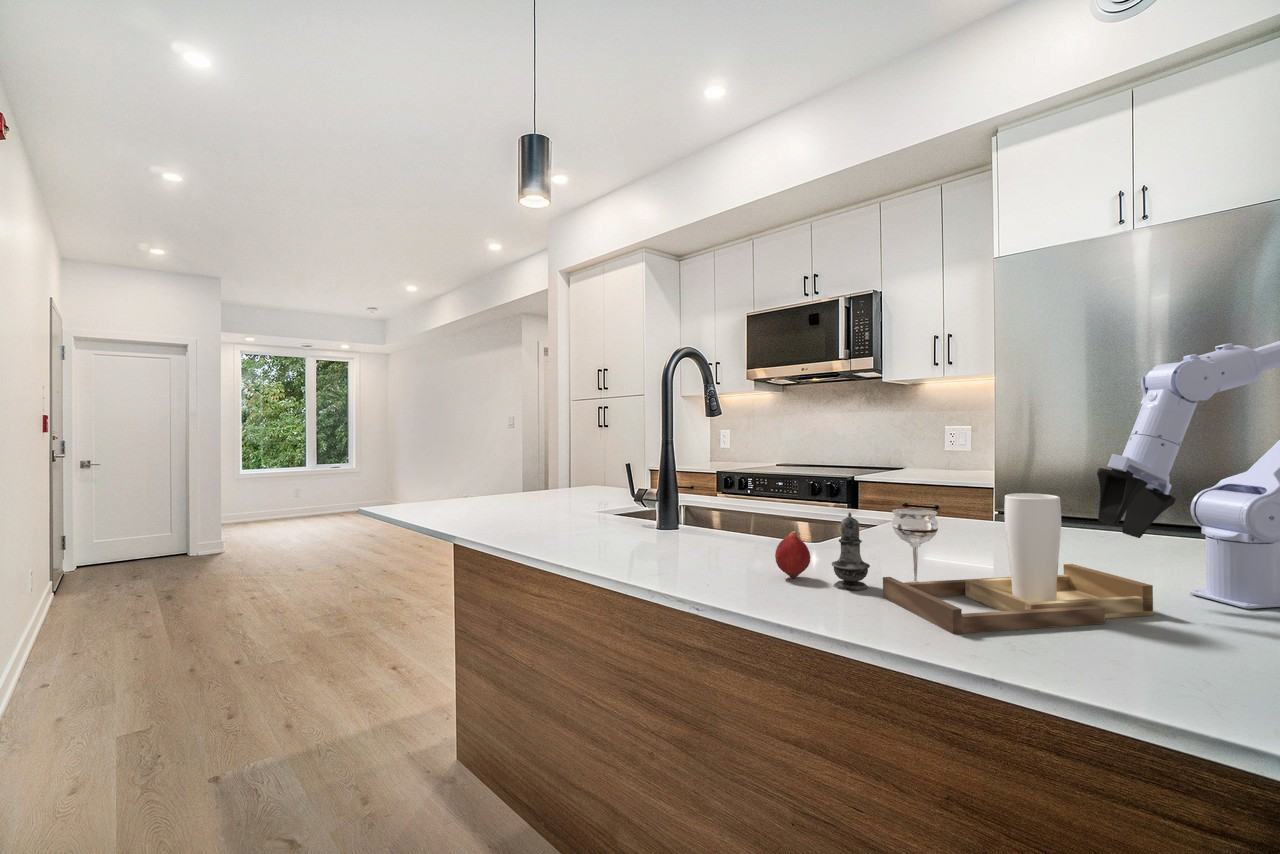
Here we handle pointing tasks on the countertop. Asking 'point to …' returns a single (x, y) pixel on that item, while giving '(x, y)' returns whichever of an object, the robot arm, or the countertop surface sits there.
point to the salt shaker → (850, 558)
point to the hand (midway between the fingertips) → (1119, 529)
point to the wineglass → (915, 529)
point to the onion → (792, 555)
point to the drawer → (1072, 593)
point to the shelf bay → (951, 618)
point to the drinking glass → (1033, 544)
